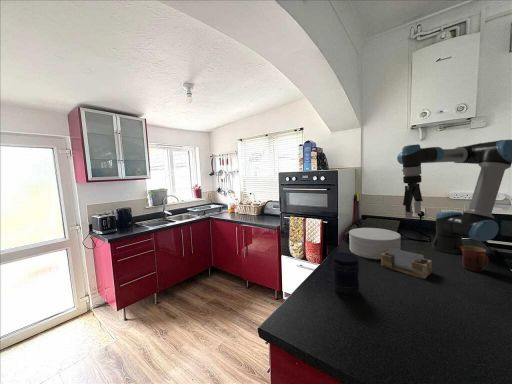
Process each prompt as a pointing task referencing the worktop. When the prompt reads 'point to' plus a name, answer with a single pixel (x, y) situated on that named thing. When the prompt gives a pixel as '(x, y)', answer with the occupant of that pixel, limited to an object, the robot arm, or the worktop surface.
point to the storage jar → (346, 274)
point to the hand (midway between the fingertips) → (413, 215)
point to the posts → (417, 268)
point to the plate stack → (373, 241)
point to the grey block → (405, 258)
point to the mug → (474, 258)
